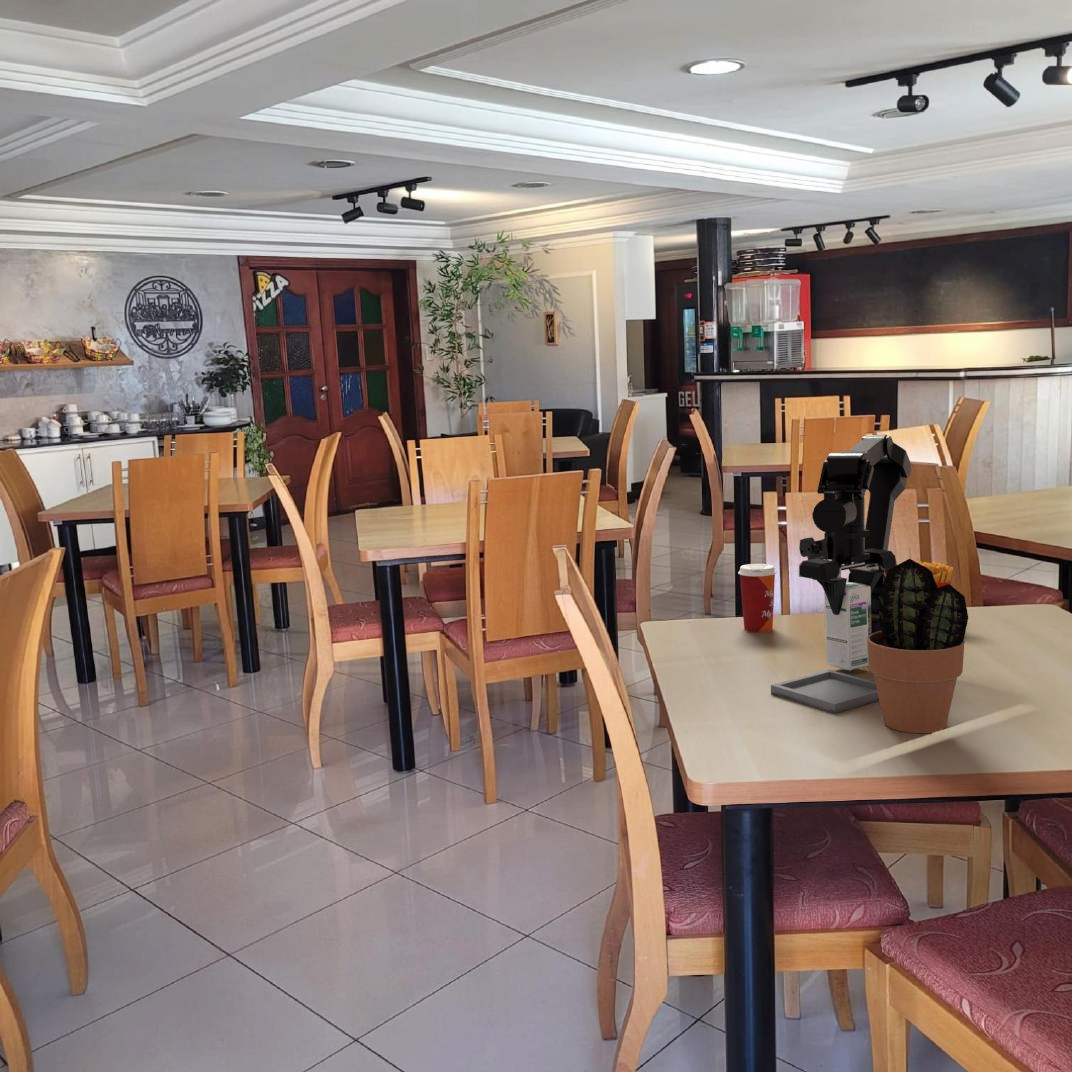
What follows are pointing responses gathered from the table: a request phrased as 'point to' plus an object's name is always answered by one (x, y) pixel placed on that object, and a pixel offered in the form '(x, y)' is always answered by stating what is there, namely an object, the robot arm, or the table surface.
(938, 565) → the french fries
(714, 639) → the table surface
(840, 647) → the syrup box
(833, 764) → the table surface
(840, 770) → the table surface
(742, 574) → the paper cup
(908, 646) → the potted plant
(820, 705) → the serving tray
